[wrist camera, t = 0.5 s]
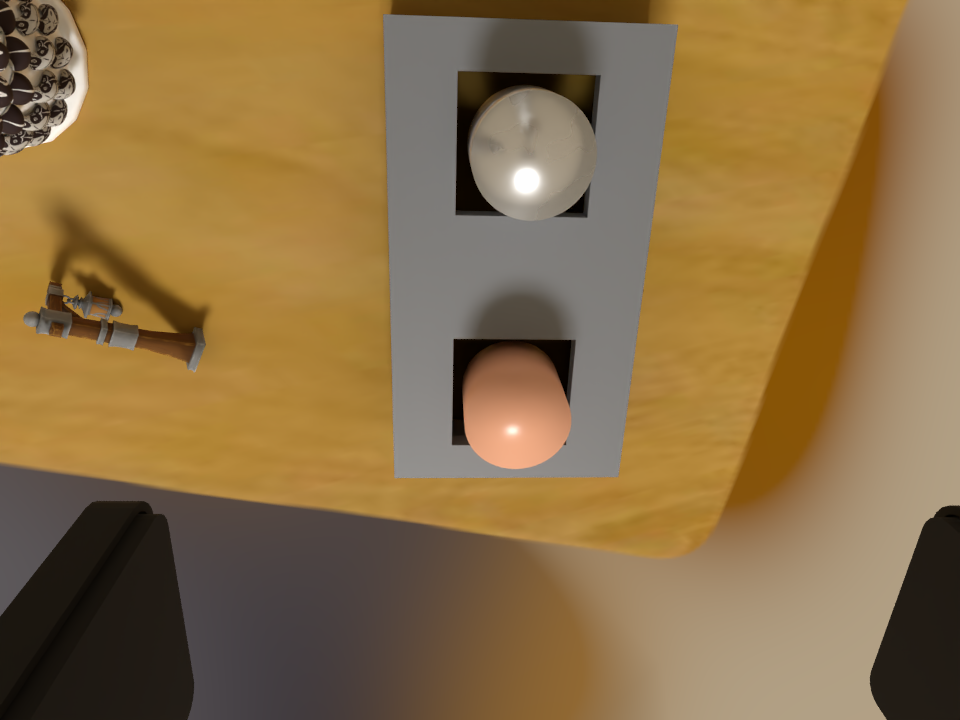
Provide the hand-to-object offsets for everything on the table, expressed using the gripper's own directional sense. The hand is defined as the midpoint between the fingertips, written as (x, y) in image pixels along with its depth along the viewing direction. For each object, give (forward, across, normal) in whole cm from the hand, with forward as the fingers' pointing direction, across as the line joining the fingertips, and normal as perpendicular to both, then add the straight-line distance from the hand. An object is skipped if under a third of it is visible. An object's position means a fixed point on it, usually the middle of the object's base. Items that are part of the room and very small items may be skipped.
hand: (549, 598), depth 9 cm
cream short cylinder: (+26, -2, -3) cm, 26 cm away
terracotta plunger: (+26, -2, +9) cm, 27 cm away
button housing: (+29, -2, +3) cm, 29 cm away
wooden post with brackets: (+30, +18, +8) cm, 35 cm away
